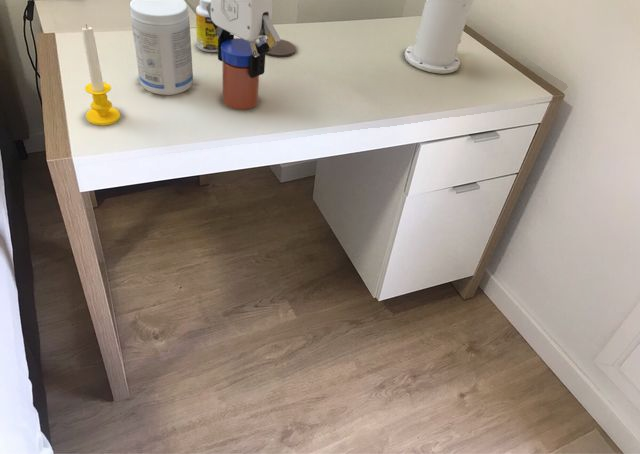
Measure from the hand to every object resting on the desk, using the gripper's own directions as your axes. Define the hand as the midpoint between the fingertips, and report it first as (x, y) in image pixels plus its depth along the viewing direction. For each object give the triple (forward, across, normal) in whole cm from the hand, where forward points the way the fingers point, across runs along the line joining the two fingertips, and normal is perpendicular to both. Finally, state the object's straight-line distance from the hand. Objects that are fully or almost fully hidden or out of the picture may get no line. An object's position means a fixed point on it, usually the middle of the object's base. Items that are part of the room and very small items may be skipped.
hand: (241, 66), depth 90 cm
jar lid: (-3, 0, 0) cm, 3 cm away
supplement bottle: (+7, -19, +10) cm, 23 cm away
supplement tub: (+7, -13, -6) cm, 16 cm away
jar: (+7, 0, 0) cm, 7 cm away
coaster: (+7, -11, +22) cm, 25 cm away
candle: (+7, -10, -21) cm, 25 cm away
